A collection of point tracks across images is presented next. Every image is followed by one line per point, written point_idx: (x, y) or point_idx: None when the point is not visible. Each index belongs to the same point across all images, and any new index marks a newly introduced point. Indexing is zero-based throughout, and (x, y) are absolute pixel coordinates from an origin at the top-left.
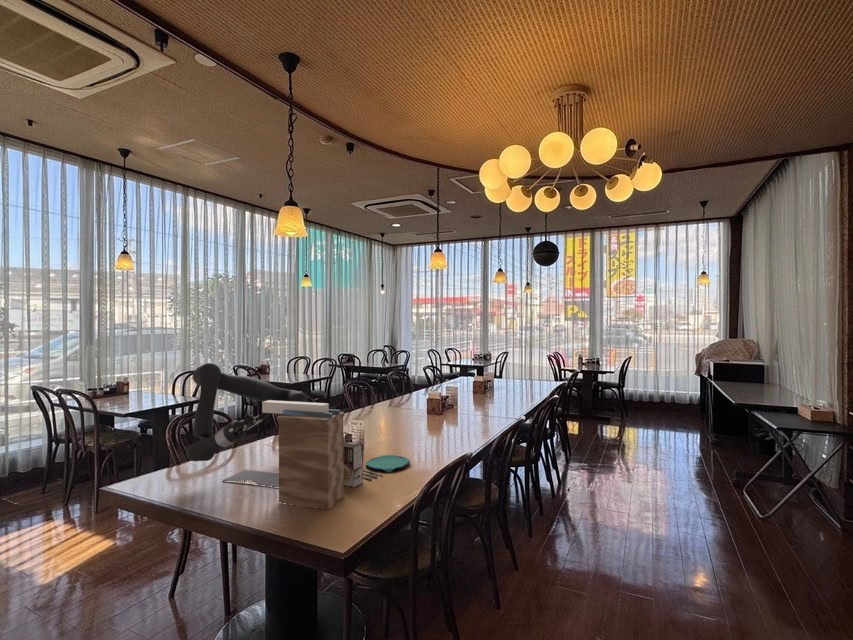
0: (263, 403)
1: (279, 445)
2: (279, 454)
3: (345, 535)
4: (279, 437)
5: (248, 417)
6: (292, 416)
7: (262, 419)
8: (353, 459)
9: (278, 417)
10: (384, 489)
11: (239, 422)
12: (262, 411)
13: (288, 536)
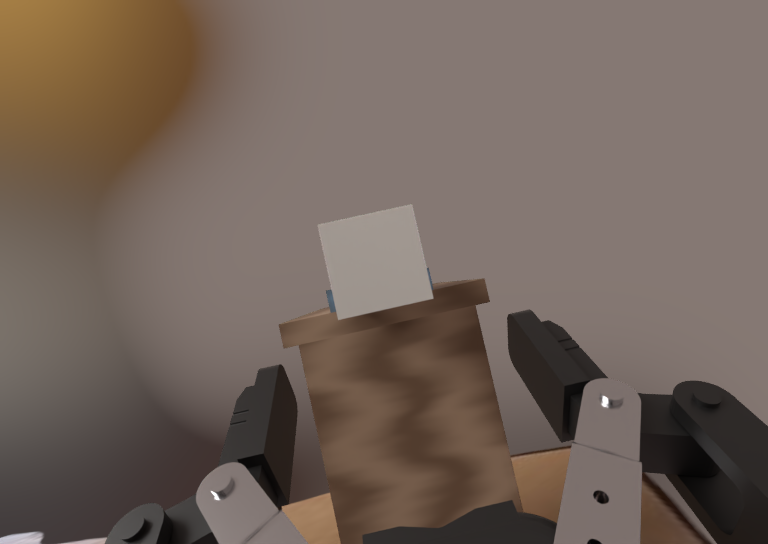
0: (413, 219)
1: (505, 439)
2: (516, 488)
3: (561, 468)
4: (495, 395)
5: (549, 334)
6: (446, 284)
7: (278, 494)
8: (280, 507)
9: (483, 282)
10: (308, 538)
11: (688, 391)
12: (430, 290)
13: (679, 525)
